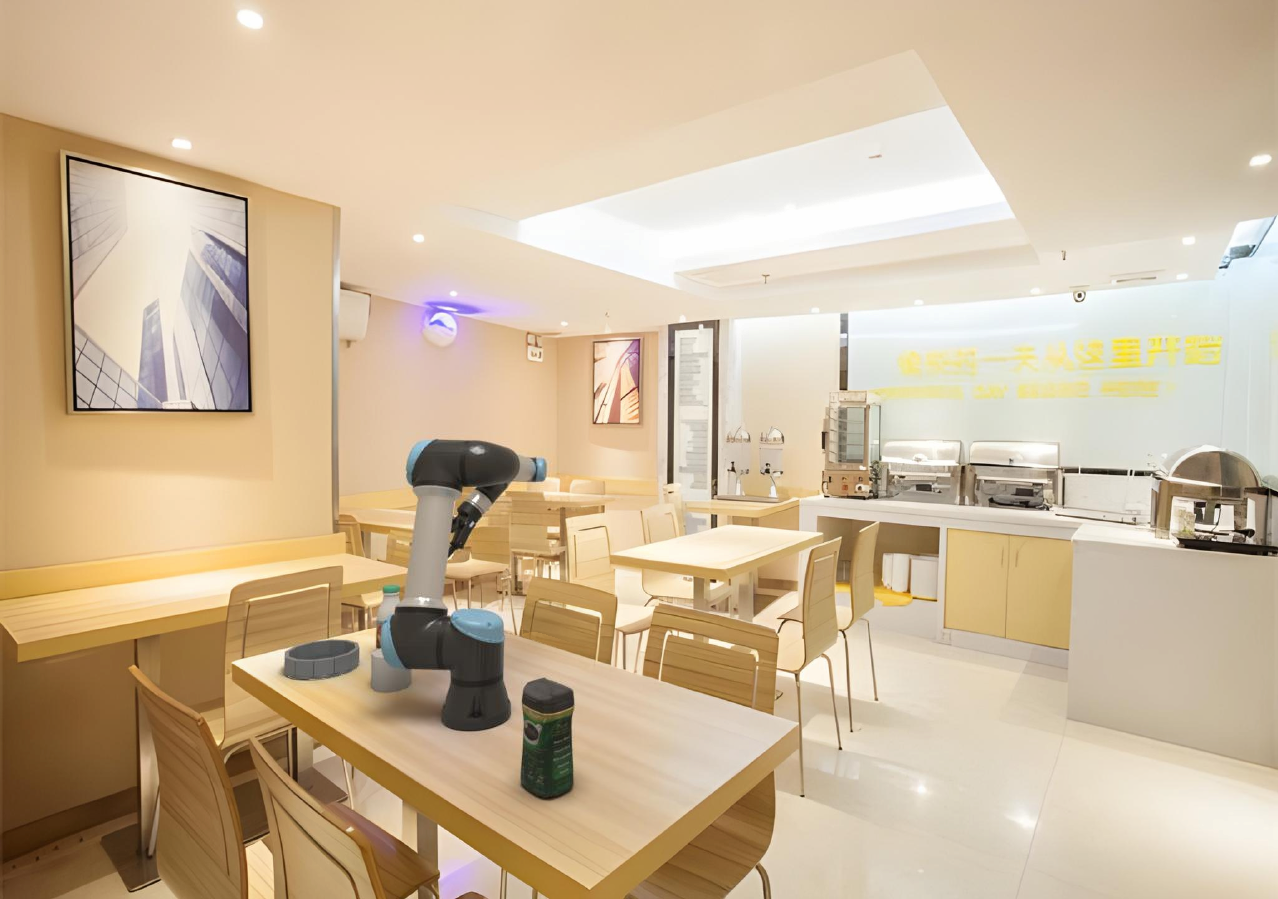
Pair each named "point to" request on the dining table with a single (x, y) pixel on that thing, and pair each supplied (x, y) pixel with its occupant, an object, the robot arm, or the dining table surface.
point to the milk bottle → (386, 609)
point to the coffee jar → (547, 737)
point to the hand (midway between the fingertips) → (427, 561)
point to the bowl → (321, 659)
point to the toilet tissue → (387, 675)
